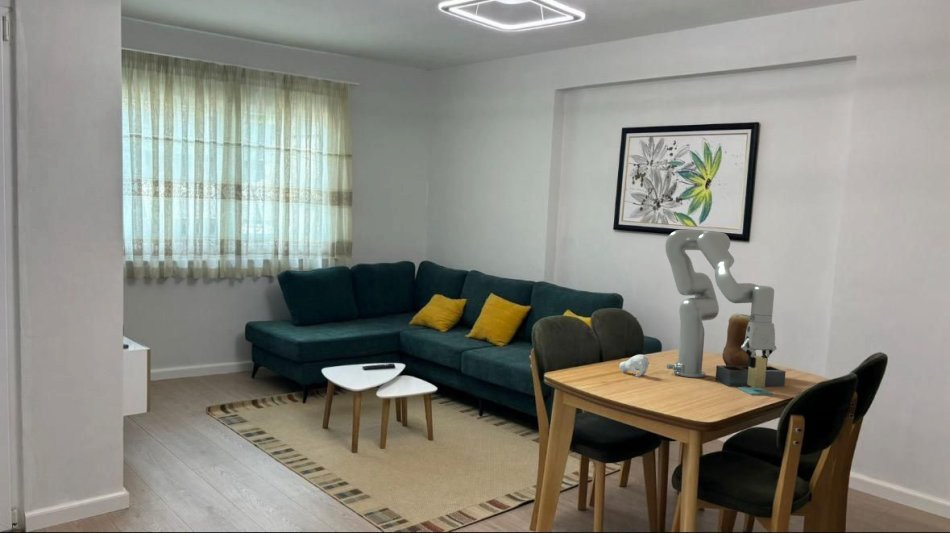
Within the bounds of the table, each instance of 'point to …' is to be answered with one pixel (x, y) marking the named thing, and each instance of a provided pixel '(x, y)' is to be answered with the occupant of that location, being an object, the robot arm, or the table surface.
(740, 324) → the butternut squash
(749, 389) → the teal rubber mat
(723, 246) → the robot arm
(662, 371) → the table surface
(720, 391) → the table surface
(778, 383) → the graphite rack rail
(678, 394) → the table surface
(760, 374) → the tan rectangular block
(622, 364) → the white animal figurine
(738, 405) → the table surface
